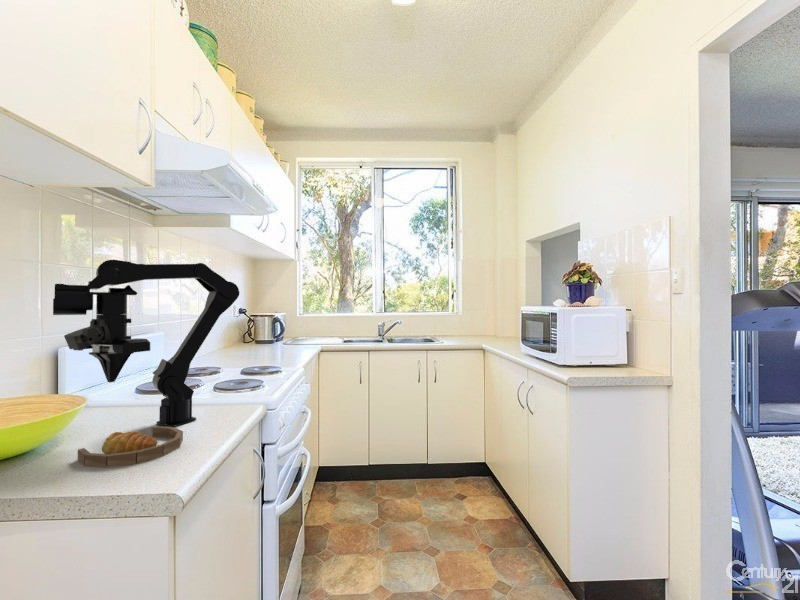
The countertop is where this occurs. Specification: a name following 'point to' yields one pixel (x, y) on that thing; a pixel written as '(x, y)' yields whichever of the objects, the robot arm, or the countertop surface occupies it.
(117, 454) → the walnut open arc
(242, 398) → the countertop surface
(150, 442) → the pastry
